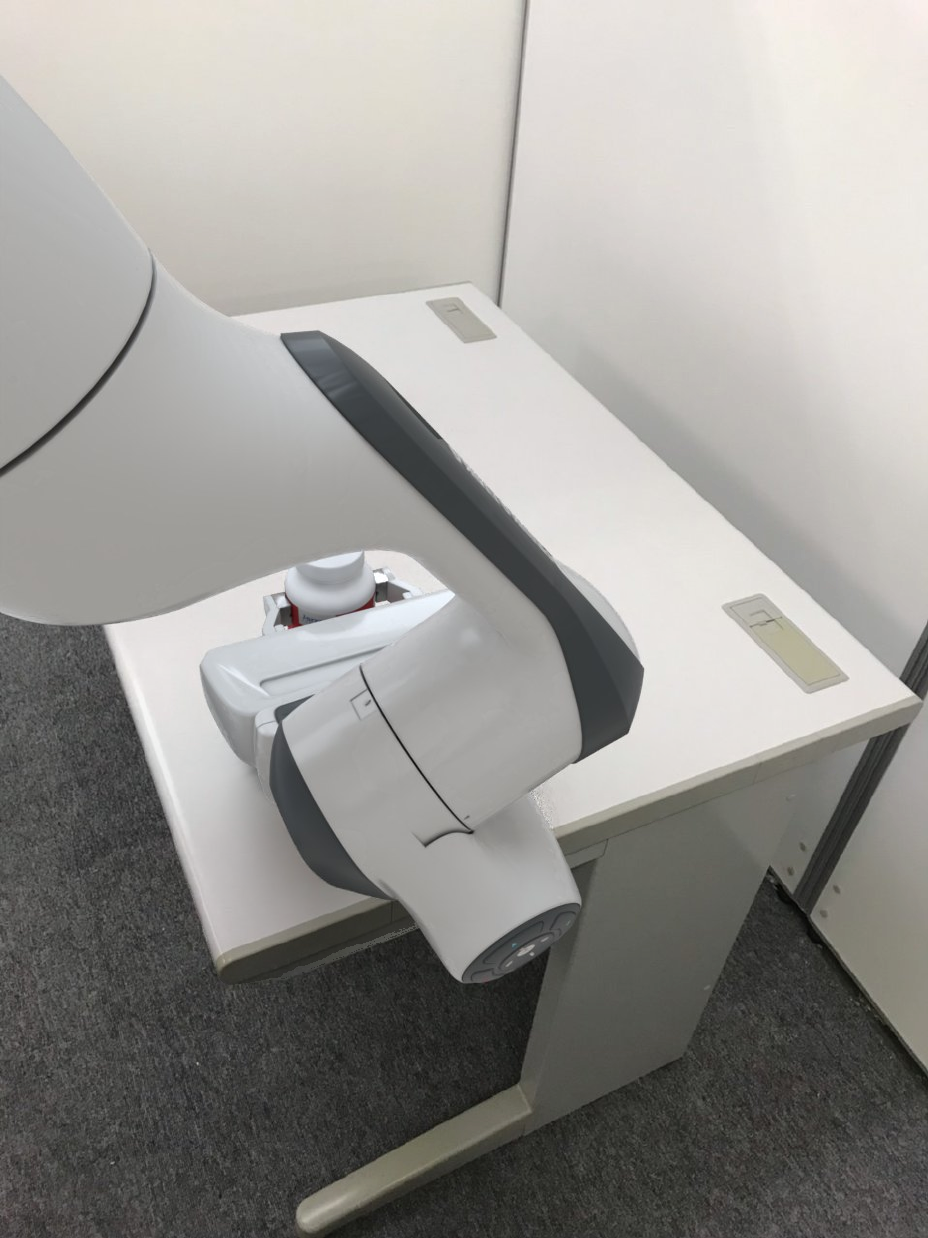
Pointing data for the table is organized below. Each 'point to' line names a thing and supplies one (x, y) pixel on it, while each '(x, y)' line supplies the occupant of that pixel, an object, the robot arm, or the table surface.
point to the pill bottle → (329, 588)
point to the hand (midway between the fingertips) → (325, 588)
